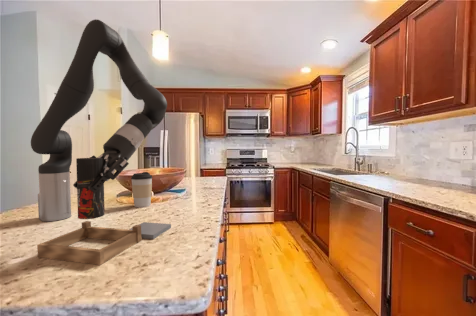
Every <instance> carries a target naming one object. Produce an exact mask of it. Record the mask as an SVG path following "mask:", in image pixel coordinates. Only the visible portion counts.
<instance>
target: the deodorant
mask: <svg viewBox="0 0 476 316" xmlns="http://www.w3.org/2000/svg"><path fill="white" fill-rule="evenodd" d="M102 165H103V158H91V157H79V158H76V181H77V188H76V193H77V194H76V195H77V196H76V197H77V219H79V220H92V219H98V218H101V217H103V216H105V214H106V213H105V183H104V184H103V185H102V186H101V187H100V188H99V190H98V191H97V192H92V191H91V190H90V189H88V186H89V185H90V184H91V183H92V182H93V181H94V179H95V178H96V177H97V176H100V175H99V174H100V172H101V170H102Z"/></svg>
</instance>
